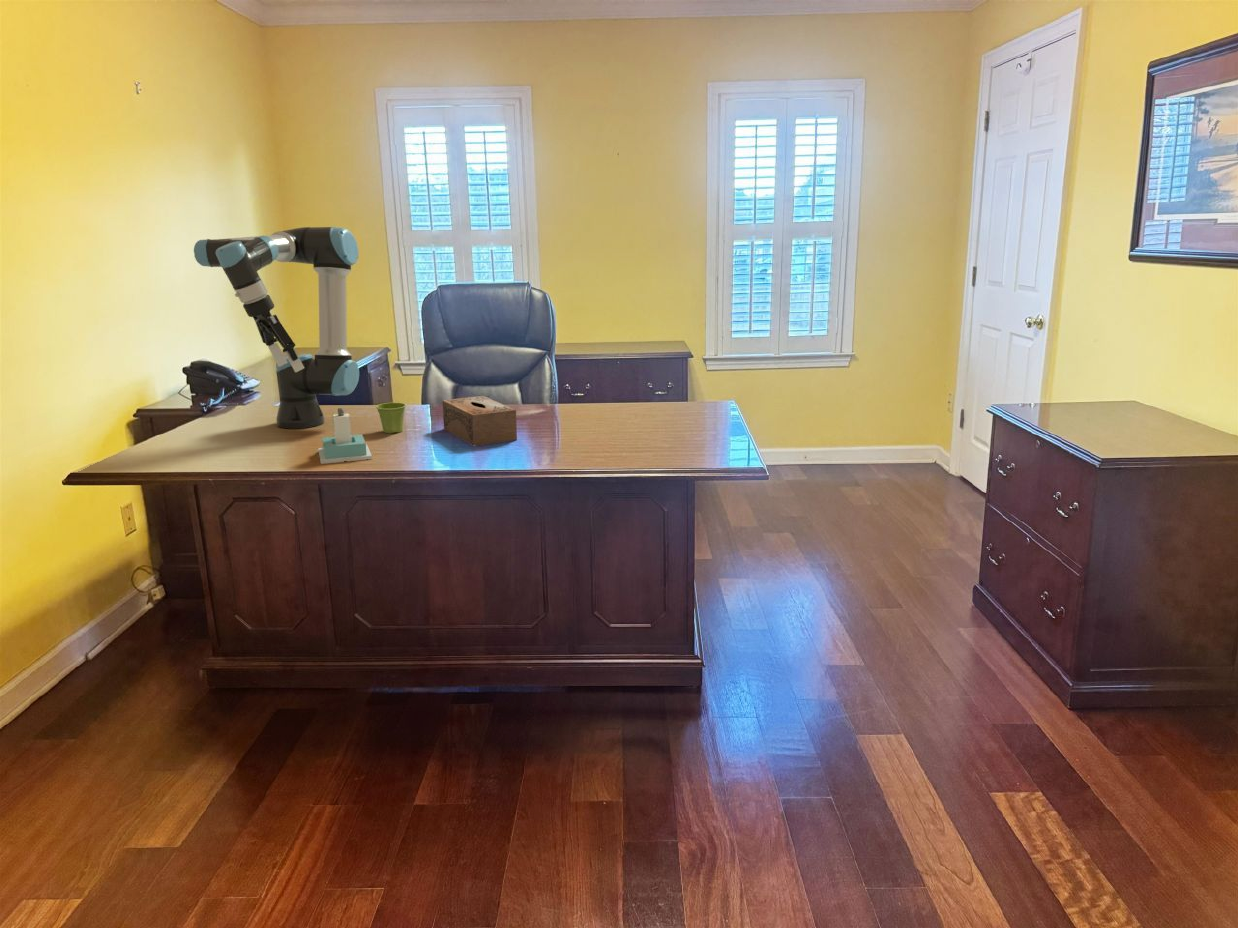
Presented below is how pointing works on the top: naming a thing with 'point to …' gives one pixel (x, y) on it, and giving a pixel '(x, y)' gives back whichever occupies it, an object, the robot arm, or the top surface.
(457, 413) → the tissue box cover
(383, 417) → the plant pot
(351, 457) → the socket
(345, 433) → the plug
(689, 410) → the top surface
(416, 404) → the top surface
